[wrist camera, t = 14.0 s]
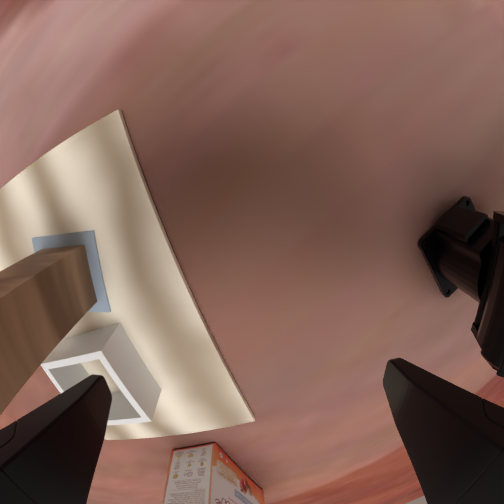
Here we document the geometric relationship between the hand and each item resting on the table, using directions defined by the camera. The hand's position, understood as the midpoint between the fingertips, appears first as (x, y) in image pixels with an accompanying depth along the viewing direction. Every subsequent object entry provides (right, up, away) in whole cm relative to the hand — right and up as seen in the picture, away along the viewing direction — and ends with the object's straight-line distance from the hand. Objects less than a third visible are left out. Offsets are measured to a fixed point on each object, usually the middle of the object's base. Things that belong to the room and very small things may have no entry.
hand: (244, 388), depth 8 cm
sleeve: (-12, -6, +14) cm, 20 cm away
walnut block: (-14, +2, +12) cm, 18 cm away
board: (-13, -2, +14) cm, 19 cm away
